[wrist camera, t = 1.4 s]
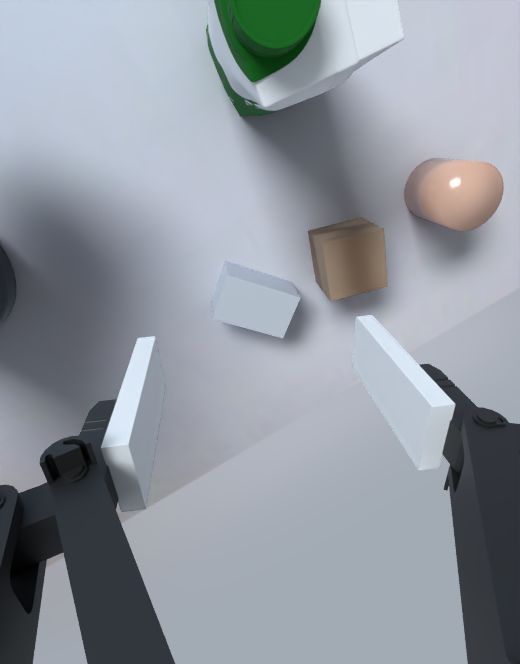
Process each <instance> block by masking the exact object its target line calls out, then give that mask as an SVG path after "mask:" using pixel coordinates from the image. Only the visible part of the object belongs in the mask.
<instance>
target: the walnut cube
mask: <svg viewBox="0 0 520 664" xmlns="http://www.w3.org/2000/svg"><path fill="white" fill-rule="evenodd" d="M308 234H309V241H310V247H311V253H312V260H313V266H314V273H315V279H316V282H317V284H318V285H319V286H320V288H321V289H322V290H323V292H324V293H325V294H326V296H327V297H328V298H329V300H330V301H334V300H338V299H342V298H346V297H349V296H353V295H357V294H361V293H365V292H369V291H373V290H377V289H381V288H385V287H387V272H386V255H385V238H384V229H383V228H381V227H379V226H377V225H375V224H373V223H371V222H369V221H367V220H365V219H363V218H358V219H354V220H350V221H346V222H342V223H338V224H334V225H330V226H326V227H322V228H318V229H314V230H310V231H308Z"/></svg>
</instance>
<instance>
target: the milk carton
mask: <svg viewBox="0 0 520 664" xmlns="http://www.w3.org/2000/svg"><path fill="white" fill-rule="evenodd" d="M206 32H207V41H208V47H209V50H210V53H211V56H212V59H213V61H214V64H215V66H216V69H217V71H218V74H219V76H220V79H221V81H222V84H223V86H224V88H225V91H226V93H227V94H228V96H229V98H230V100H231V101H232V103H233V105H234V106H235V108H236V110H237V111H238V113H239V115H240V116H256V115H265V114H269V113H272V112H275V111H278V110H281V109H283V108H286V107H289V106H291V105H294V104H297V103H299V102H302V101H304V100H306V99H309V98H312V97H315V96H317V95H320V94H322V93H325V92H327V91H329V90H331V89H333V88H335V87H337V86H339V85H341V84H342V83H344V82H345V81H346V80H347V79H348V78H349V77H350V75H351V74H352V73H353V72H354V71H356V70H357V69H358V68H360V67H361V66H363V65H364V64H366V63H367V62H369V61H370V60H372V59H373V58H375V57H376V56H378V55H379V54H381V53H383V52H384V51H386V50H387V49H389V48H391V47H392V46H394V45H395V44H397V43H398V42H400V41H401V40H403V39H404V33H403V28H402V22H401V17H400V11H399V6H398V1H397V0H208V25H207V29H206Z"/></svg>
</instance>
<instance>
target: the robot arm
mask: <svg viewBox="0 0 520 664" xmlns="http://www.w3.org/2000/svg"><path fill="white" fill-rule="evenodd" d="M15 295H16V283H15V277H14V273H13V270H12V267H11V264H10V262H9V260H8V258H7V256H6V254H5V252H4V251H3V249H2V248H1V246H0V324H1V323H2V322H3V321H4V320H5V319H6V318H7V316H8V315H9V313H10V312H11V309H12V307H13V304H14V301H15ZM352 367H353V369H354V370H355V372H356V374H357V375H358V377H359V378H360V380H361V381H362V383H363V384H364V386H365V388H366V389H367V391H368V392H369V394H370V396H371V397H372V399H373V400H374V402H375V403H376V405H377V406H378V408H379V410H380V411H381V413H382V414H383V416H384V417H385V419H386V420H387V422H388V424H389V425H390V427H391V428H392V430H393V432H394V433H395V434H396V436H397V438H398V439H399V441H400V442H401V444H402V446H403V447H404V449H405V450H406V452H407V453H408V455H409V457H410V458H411V460H412V461H413V463H414V464H415V466H416V468H417V469H418V470H419V471H420V470H427V469H434V468H439V467H440V464H441V460H442V456H443V455H444V457H445V458H446V459H447V460H448V462H449V463H450V467H449V471H448V474H447V478H446V482H445V486H444V490H447V489H448V486H449V487H450V498H451V507H452V516H453V527H454V536H455V546H456V555H457V563H458V574H459V584H460V593H461V603H462V612H463V622H464V631H465V641H466V650H467V660H468V664H520V424H514V423H509V422H508V421H507V420H506V418H504V417H503V416H502V415H500V414H499V413H497V412H495V411H493V410H490V409H486V408H478V407H477V406H476V405H475V404H474V403H473V402H472V401H471V400H470V399H469V398H468V397H467V396H466V395H465V394H464V393H463V392H462V391H461V390H460V389H459V388H458V387H457V386H455V384H453V382H451V380H448V377H447V376H446V375H444V374H443V373H442V371H441V370H439V369H437V368H435V367H433V366H432V365H430V364H422V365H418V364H417V363H416V361H415V360H414V359H413V358H412V357H411V356H410V355H409V354H408V353H407V352H406V351H405V350H404V349H403V348H402V347H401V345H400V344H399V343H398V342H397V341H396V340H395V339H394V338H393V337H392V336H391V335H390V334H389V333H388V332H387V330H386V329H385V328H384V327H383V326H382V325H381V324H380V323H379V322H378V321H377V320H376V319H375V318H374V317H373V316H372V315H367V316H357V317H356V324H355V336H354V348H353V360H352ZM165 388H166V387H165V382H164V376H163V371H162V366H161V361H160V356H159V351H158V346H157V341H156V336H152V337H142V338H138V339H137V342H136V345H135V348H134V351H133V354H132V357H131V360H130V363H129V366H128V369H127V372H126V374H125V377H124V380H123V383H122V386H121V389H120V392H119V395H118V398H117V400H108V401H99V402H98V403H97V404H96V405H95V406H94V407H93V408H92V409H91V410H90V411H89V414H88V416H87V418H86V421H85V423H84V425H83V428H82V432H81V433H80V435H79V436H71V437H68V438H64V439H61V440H59V441H57V442H55V443H54V444H52V445H51V446H50V447H48V448H47V449H46V450H45V451H44V453H43V454H42V456H41V457H40V466H41V468H42V470H43V473H44V475H45V477H46V479H47V483H45V484H42V485H40V486H38V487H35V488H32V489H29V490H27V491H24V492H21V493H18V491H17V490H16V489H15V488H14V487H13V486H9V485H0V664H33V657H34V649H35V642H36V635H37V627H38V620H39V612H40V605H41V598H42V589H43V583H44V582H43V581H44V575H45V568H46V561H47V559H49V558H51V557H53V556H56V555H58V554H60V553H63V552H64V557H65V561H66V565H67V570H68V575H69V580H70V584H71V589H72V593H73V598H74V603H75V607H76V612H77V617H78V621H79V626H80V631H81V635H82V640H83V644H84V649H85V653H86V658H87V663H88V664H175V662H174V660H173V657H172V655H171V652H170V649H169V647H168V644H167V642H166V639H165V636H164V634H163V632H162V629H161V626H160V623H159V621H158V619H157V616H156V613H155V611H154V608H153V605H152V603H151V600H150V598H149V595H148V592H147V590H146V587H145V585H144V582H143V579H142V577H141V574H140V572H139V569H138V566H137V564H136V561H135V559H134V556H133V554H132V551H131V548H130V546H129V543H128V541H127V538H126V536H125V533H124V530H123V528H122V525H121V522H120V520H119V517H118V515H117V512H116V507H117V503H118V502H119V506H120V509H121V512H126V511H133V510H140V509H146V507H147V500H148V494H149V488H150V482H151V475H152V469H153V463H154V457H155V450H156V444H157V438H158V432H159V425H160V419H161V413H162V407H163V400H164V394H165Z"/></svg>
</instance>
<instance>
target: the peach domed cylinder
mask: <svg viewBox="0 0 520 664" xmlns="http://www.w3.org/2000/svg"><path fill="white" fill-rule="evenodd" d="M502 195H503V179H502V176H501V174H500V172H499V170H498V169H497V168H496V167H495V166H493V165H492V164H489V163H486V162H478V161H466V160H455V159H443V158H433V159H429V160H427V161H425V162H423V163H421V164H420V165H419V166H417V167H416V168H415V169H414V171H413V172H412V173H411V175H410V176H409V178H408V180H407V183H406V186H405V191H404V198H405V203H406V205H407V207H408V209H409V210H410V211H411V212H412V213H413V214H414V215H416V216H419V217H421V218H424V219H427V220H429V221H432V222H435V223H438V224H440V225H443V226H446V227H448V228H451V229H454V230H457V231H469V230H473V229H475V228H477V227H479V226H481V225H482V224H484V223H485V222H486V221H487V220H489V218H490V217H491V216H492V215H493V214H494V213H495V211H496V210H497V208H498V206H499V204H500V202H501V199H502Z"/></svg>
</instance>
